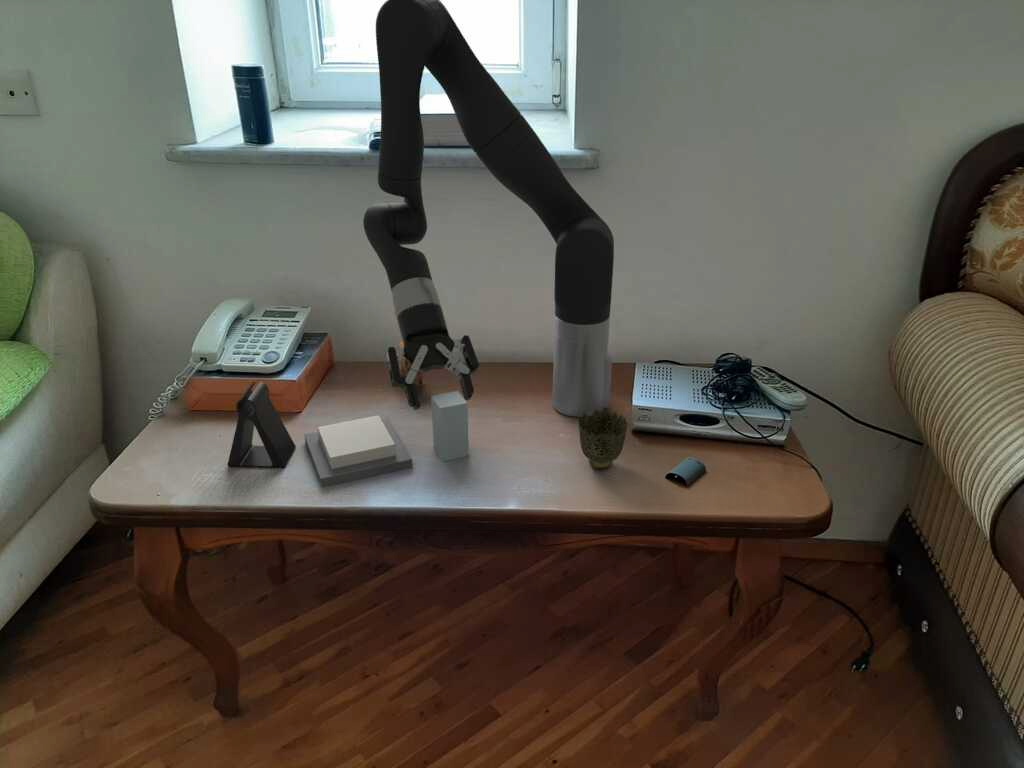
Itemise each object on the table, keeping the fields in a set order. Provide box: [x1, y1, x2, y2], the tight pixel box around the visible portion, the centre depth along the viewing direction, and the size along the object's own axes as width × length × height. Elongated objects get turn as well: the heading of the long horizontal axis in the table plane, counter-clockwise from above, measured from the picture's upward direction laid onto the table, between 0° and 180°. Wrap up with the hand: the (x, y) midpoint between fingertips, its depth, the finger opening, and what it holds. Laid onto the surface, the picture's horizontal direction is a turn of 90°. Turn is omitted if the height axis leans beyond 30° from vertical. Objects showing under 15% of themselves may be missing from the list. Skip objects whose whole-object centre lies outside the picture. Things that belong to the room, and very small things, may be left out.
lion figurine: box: [396, 340, 426, 387], centre depth 147 cm, size 15×5×9 cm, turn 34°
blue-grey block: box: [430, 390, 470, 462], centre depth 123 cm, size 4×4×10 cm
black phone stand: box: [227, 381, 296, 469], centre depth 121 cm, size 9×6×12 cm, turn 87°
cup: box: [577, 408, 629, 471], centre depth 120 cm, size 8×7×8 cm
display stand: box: [303, 414, 414, 488], centre depth 124 cm, size 14×14×4 cm
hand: (443, 403), depth 124 cm, fingers open, 8 cm apart
